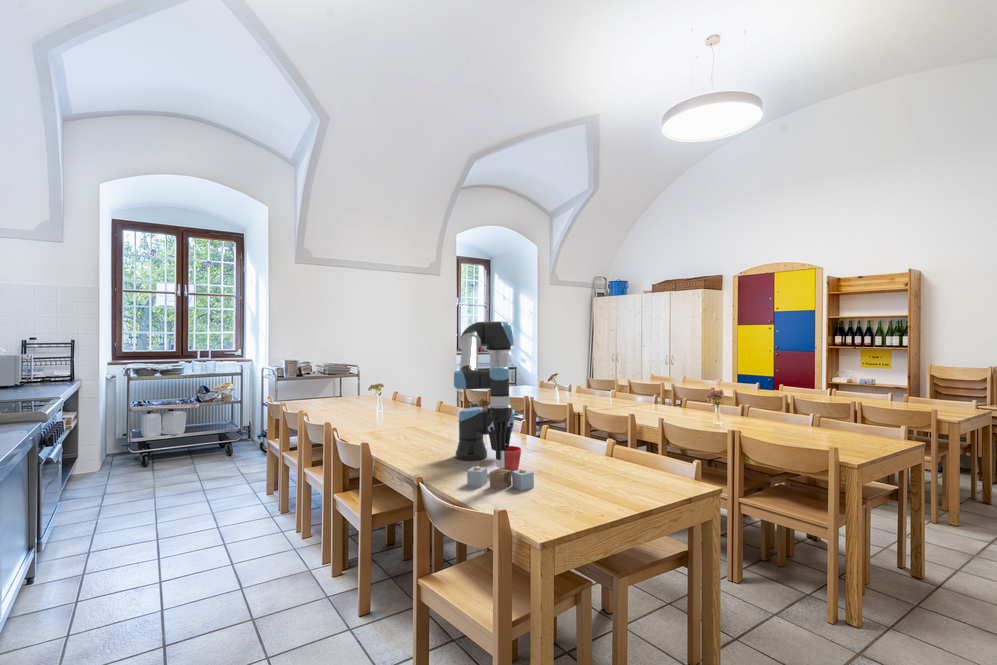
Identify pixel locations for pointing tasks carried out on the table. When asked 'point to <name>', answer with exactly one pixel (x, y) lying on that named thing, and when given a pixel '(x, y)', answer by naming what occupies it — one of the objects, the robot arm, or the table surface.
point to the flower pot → (512, 458)
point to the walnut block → (500, 479)
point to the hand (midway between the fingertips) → (500, 467)
